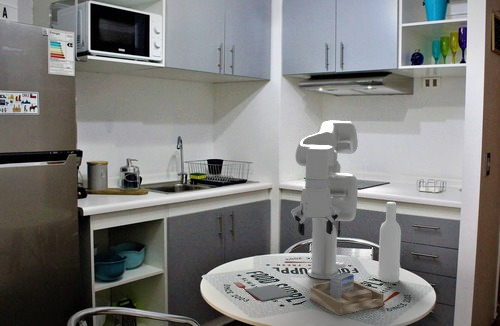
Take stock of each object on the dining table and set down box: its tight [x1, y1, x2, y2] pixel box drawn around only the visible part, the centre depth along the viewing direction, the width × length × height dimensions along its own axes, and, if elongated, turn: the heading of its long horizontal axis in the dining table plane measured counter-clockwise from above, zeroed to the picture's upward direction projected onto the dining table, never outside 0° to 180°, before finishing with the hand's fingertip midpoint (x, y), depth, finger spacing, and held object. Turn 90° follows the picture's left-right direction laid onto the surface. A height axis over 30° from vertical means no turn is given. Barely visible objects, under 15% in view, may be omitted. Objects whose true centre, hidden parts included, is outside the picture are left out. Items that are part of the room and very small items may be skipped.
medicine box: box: [330, 271, 355, 299], centre depth 172 cm, size 8×4×9 cm, turn 137°
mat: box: [245, 283, 293, 302], centre depth 178 cm, size 12×12×1 cm
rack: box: [309, 280, 384, 316], centre depth 170 cm, size 18×16×5 cm
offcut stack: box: [337, 289, 373, 306], centre depth 166 cm, size 14×4×5 cm, turn 119°
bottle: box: [377, 201, 402, 283], centre depth 193 cm, size 8×8×30 cm
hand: (315, 234), depth 171 cm, fingers open, 9 cm apart
